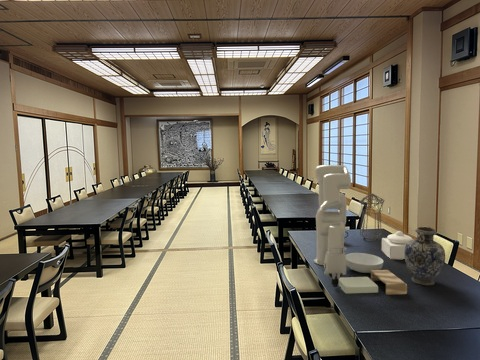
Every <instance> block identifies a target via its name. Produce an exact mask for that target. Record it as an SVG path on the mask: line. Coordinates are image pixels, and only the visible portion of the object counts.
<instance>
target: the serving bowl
mask: <svg viewBox="0 0 480 360" xmlns="http://www.w3.org/2000/svg"><path fill="white" fill-rule="evenodd" d="M345 256H346V266H347V267H348V268H349V269H351V270H352V271H355V272H358V273H363V274H371V270H382V268H383V265H384V259H383V258H382V257H379V256H378V255H374V254H370V253H364V252H363V253H362V252H352V253H346V254H345Z"/></svg>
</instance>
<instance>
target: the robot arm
mask: <svg viewBox="0 0 480 360" xmlns="http://www.w3.org/2000/svg"><path fill="white" fill-rule="evenodd" d="M314 173H315V174H314V175H315V178H316V181H317V184H318V209H317V211H316V214H315V225H316V226H315V229H316V257H315V258H314V259H313V262H314V263H315V264H317V265H318V266H319V265H320V266H323V269H324V272H323V273H324V275H325V276H329V277H330V278H331V285H332V287H334V288H338V287H339V285H338V284H339V279H340V278H342V276H344V275H347V267H348V266H347V265H346V256H345V255H346V253H345V251H347V250H348V248H347V247H346V246H345V233H346V223H347V203H348V202H347V197H346V195H345V194H344V193H342V192H341V190H349V189H350V188H351V186H352V179H351V174H350V172H349V169H348V168H347V166H346V165H343V164H342V165H341V164H339V165H338V164H336V165H335V164H332V165H331V164H325V165H323V164H322V165H318V166H316V168H315V170H314Z"/></svg>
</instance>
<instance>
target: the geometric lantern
mask: <svg viewBox="0 0 480 360" xmlns="http://www.w3.org/2000/svg"><path fill="white" fill-rule="evenodd" d="M365 200H366V202H365ZM374 201H376V202H375V203H374ZM358 202H359V203H360V205H361V206H360V207H363V205H364V209H363V208H361V220H360V221H361V222H360V230H359V235H360V236H361V237H362V238H363V239H364V238H365V237H368V238H367V240H368V242H370V240H373V241H375V242H377V240H376V239H377V238H379V237H380V236H381V235H382V215H381V214H382V213H381V211H382V207H383V205H384V203H385V199H384V198H381V197H380V196H377V194H374V193H369V194H367V195H366V196H365V197H362V199H361V200H359V201H358ZM368 202H370V203H368ZM368 205H369V206H368ZM379 205H380V207H379ZM376 206H377V208H378V209H376V211H378V212H375V209H374V208H373V207H376ZM370 208H371V209H370ZM369 211H372V214H373V215H374V231H373V230H368V223H366V221H368V219H369ZM365 215H366V216H365ZM376 215H377V216H376ZM377 219H379V223H377V221H376V220H377ZM365 223H366V224H365ZM376 224H377V227H376ZM365 225H366V226H365ZM376 230H377V231H376ZM366 232H371V233H374V234H373V235H371V234H367V233H366ZM373 238H374V239H373ZM365 239H366V238H365ZM369 239H370V240H369Z"/></svg>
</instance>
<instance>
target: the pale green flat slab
mask: <svg viewBox="0 0 480 360" xmlns="http://www.w3.org/2000/svg"><path fill="white" fill-rule="evenodd" d="M338 287H341V288H340V289H341V290H342V291H343V293H345V294H370V293H371V294H373V293H379V286H378V284H376V283H375V281H372V280H371V278H370V277H368V276H355V277H354V276H351V277H348V276H347V277H346V276H345V277H344V276H343V277H340V279H339V284H338Z"/></svg>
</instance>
